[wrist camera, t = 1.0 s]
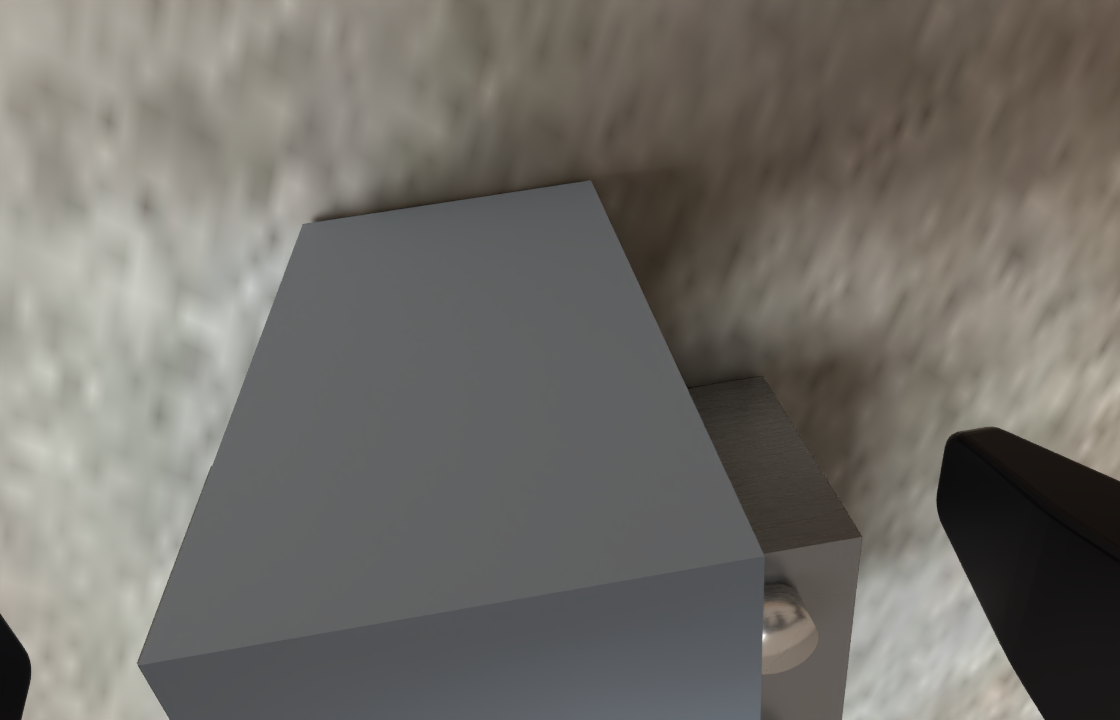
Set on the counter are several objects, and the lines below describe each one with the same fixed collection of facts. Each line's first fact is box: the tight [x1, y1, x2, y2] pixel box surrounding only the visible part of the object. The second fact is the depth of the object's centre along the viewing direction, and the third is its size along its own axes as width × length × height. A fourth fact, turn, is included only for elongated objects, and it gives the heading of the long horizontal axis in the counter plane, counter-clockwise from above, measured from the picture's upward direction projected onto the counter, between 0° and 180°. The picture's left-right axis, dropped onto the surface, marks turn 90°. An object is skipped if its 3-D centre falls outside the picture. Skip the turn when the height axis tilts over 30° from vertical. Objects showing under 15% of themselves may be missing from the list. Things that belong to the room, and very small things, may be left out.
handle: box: [138, 180, 765, 720], centre depth 12 cm, size 4×9×8 cm, turn 6°
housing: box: [137, 376, 862, 720], centre depth 14 cm, size 10×6×5 cm, turn 96°
